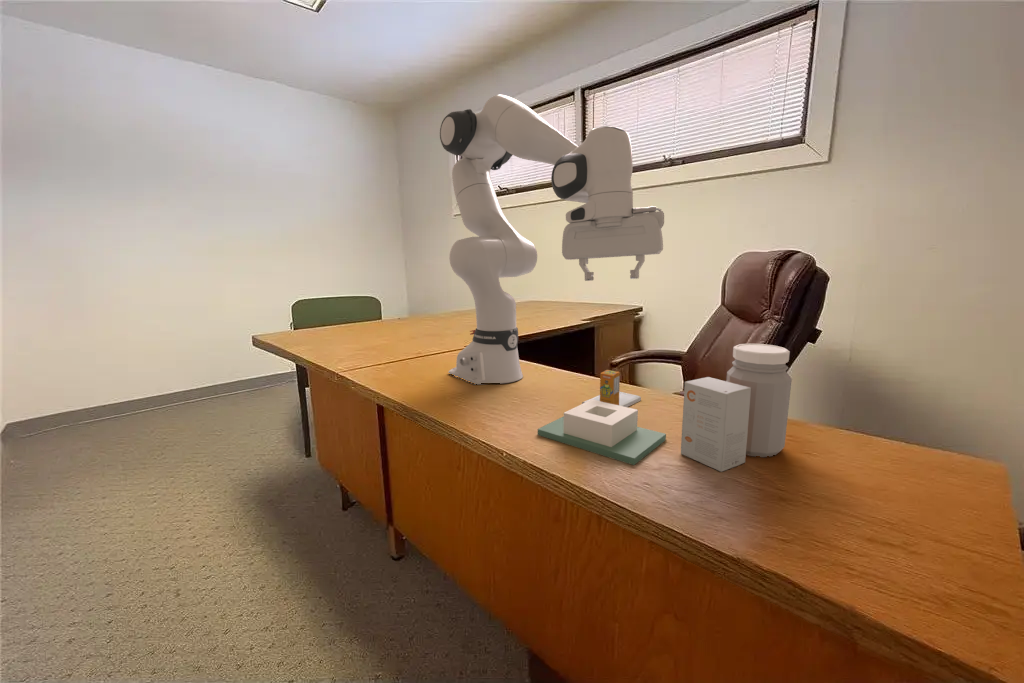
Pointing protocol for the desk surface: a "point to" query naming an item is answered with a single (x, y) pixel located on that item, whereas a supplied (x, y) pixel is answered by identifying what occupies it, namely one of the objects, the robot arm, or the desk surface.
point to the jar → (763, 394)
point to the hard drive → (623, 399)
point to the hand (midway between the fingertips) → (611, 279)
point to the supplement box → (609, 387)
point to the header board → (616, 452)
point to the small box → (715, 422)
